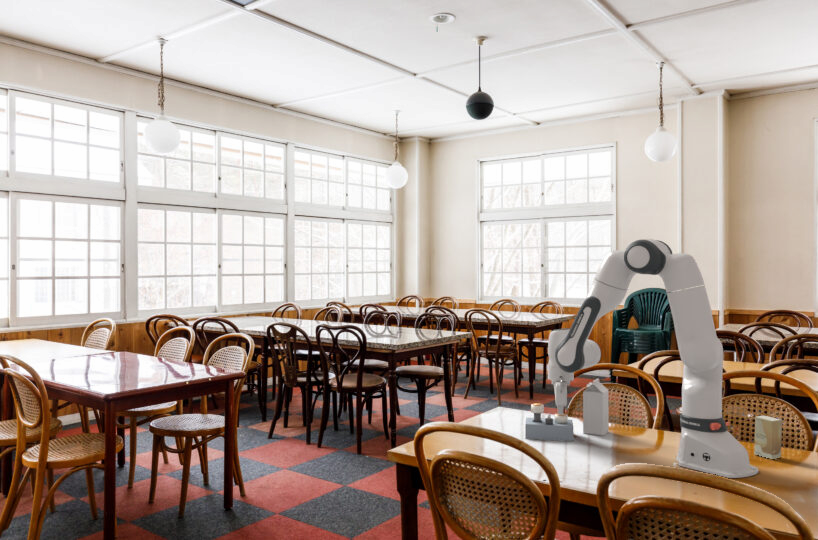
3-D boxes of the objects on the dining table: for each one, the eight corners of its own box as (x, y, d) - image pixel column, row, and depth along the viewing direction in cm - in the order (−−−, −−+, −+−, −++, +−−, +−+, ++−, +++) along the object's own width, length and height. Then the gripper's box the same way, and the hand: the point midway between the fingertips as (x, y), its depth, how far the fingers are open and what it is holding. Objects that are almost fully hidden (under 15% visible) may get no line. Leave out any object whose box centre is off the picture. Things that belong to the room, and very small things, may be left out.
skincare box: (753, 455, 199) (753, 416, 199) (763, 453, 200) (763, 414, 200) (772, 460, 193) (772, 420, 193) (782, 459, 195) (782, 419, 195)
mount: (572, 433, 225) (572, 419, 225) (573, 441, 215) (573, 426, 215) (526, 431, 228) (526, 417, 228) (525, 438, 218) (525, 424, 218)
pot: (552, 423, 219) (552, 413, 219) (553, 425, 217) (553, 415, 217) (545, 422, 220) (545, 413, 220) (545, 424, 217) (545, 414, 217)
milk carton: (608, 431, 227) (608, 379, 227) (603, 436, 221) (603, 382, 221) (588, 429, 231) (588, 377, 231) (582, 433, 225) (583, 380, 225)
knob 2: (567, 434, 222) (567, 413, 222) (567, 438, 218) (567, 415, 218) (554, 434, 223) (554, 412, 223) (554, 437, 219) (554, 415, 219)
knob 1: (543, 424, 224) (543, 403, 224) (543, 427, 220) (543, 405, 220) (531, 424, 225) (531, 402, 225) (530, 427, 221) (530, 405, 221)
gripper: (571, 379, 210) (571, 421, 210) (569, 370, 230) (568, 408, 230) (551, 379, 211) (551, 420, 211) (551, 369, 231) (551, 407, 231)
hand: (560, 414), depth 221 cm, fingers closed, pressing on knob 2
